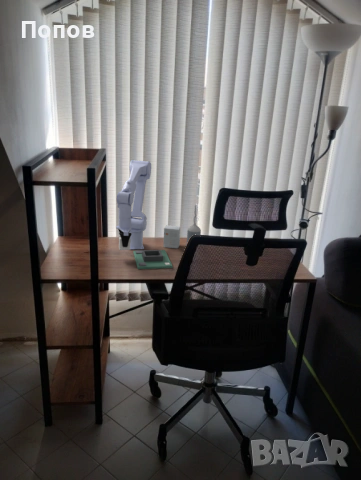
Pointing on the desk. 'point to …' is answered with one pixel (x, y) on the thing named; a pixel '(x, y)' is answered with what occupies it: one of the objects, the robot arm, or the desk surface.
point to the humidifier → (193, 228)
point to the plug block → (122, 246)
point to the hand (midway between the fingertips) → (124, 245)
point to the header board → (152, 259)
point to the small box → (171, 236)
